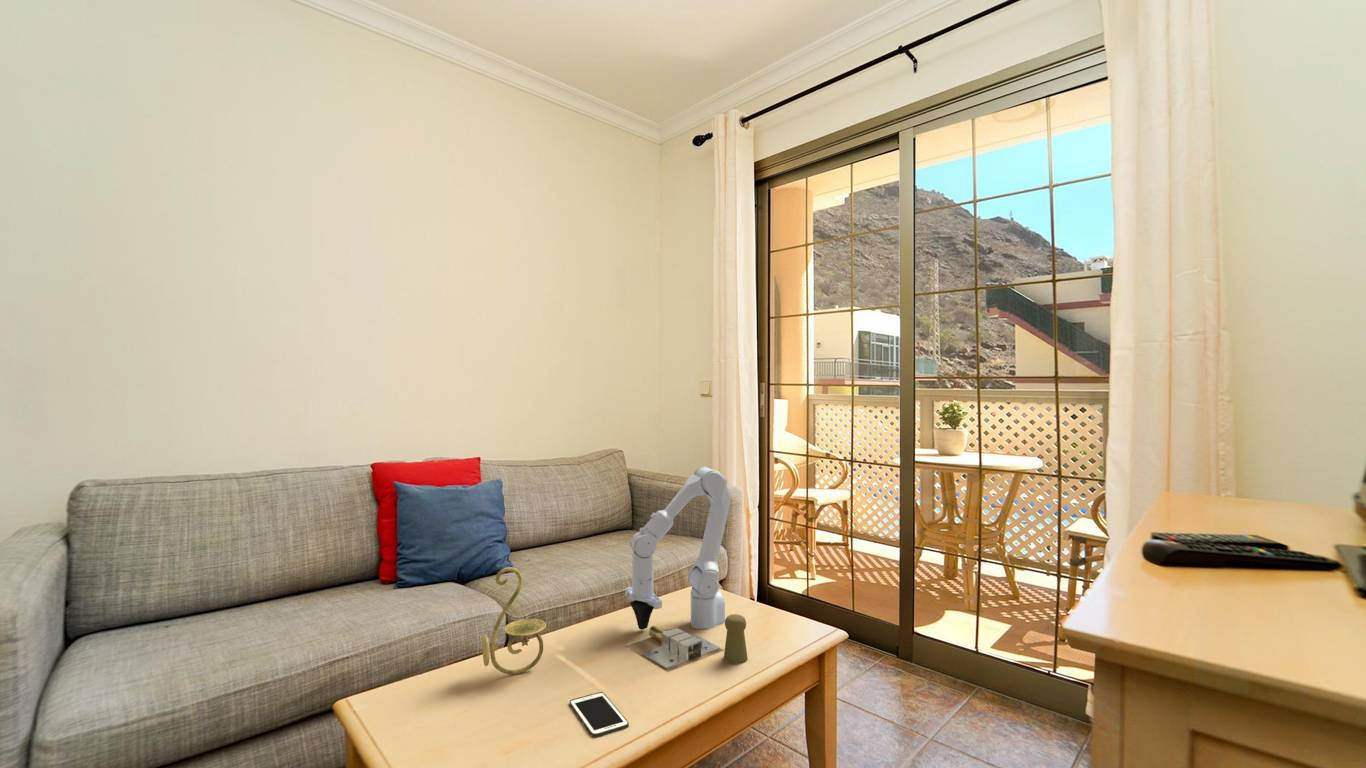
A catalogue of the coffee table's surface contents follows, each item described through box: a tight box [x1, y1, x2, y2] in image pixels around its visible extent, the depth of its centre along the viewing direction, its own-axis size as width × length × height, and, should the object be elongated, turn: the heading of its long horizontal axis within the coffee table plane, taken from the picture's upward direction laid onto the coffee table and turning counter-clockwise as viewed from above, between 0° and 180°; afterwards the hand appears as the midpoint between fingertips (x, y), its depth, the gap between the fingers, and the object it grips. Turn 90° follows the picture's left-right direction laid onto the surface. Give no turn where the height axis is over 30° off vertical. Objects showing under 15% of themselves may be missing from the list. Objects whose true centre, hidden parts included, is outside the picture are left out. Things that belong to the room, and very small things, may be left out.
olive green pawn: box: [723, 613, 748, 665], centre depth 142 cm, size 6×6×11 cm
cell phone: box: [569, 691, 630, 739], centre depth 119 cm, size 8×15×1 cm, turn 29°
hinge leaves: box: [642, 627, 721, 669], centre depth 146 cm, size 17×10×4 cm, turn 129°
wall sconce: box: [481, 566, 547, 676], centre depth 136 cm, size 14×10×25 cm
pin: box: [648, 625, 667, 642], centre depth 151 cm, size 10×3×3 cm, turn 39°
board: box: [624, 627, 725, 673], centre depth 148 cm, size 18×18×1 cm
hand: (643, 628), depth 159 cm, fingers closed
